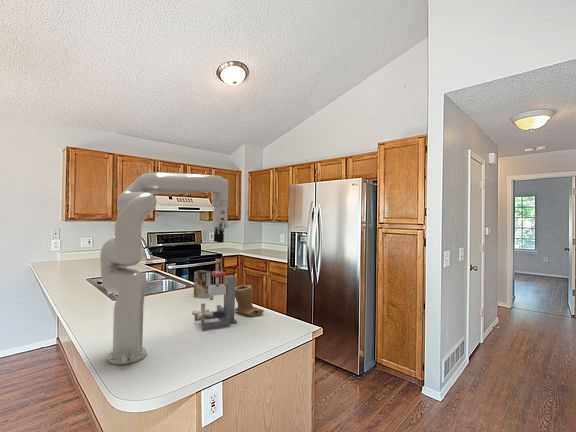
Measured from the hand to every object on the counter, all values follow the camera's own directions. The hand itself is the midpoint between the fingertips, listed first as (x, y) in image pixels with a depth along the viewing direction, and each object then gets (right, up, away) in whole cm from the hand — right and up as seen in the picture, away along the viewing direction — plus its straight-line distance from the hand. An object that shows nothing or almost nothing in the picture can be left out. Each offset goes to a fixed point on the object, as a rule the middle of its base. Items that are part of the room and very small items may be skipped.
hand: (218, 241), depth 149 cm
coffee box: (-21, -39, +46) cm, 64 cm away
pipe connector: (-7, -39, -3) cm, 40 cm away
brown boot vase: (+11, -40, +15) cm, 44 cm away
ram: (-1, -28, 0) cm, 28 cm away
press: (-1, -39, 0) cm, 39 cm away
